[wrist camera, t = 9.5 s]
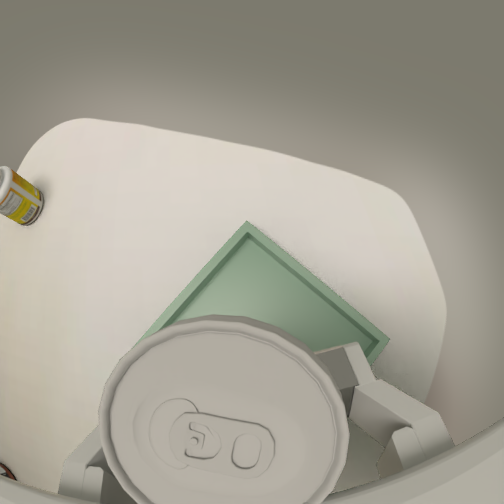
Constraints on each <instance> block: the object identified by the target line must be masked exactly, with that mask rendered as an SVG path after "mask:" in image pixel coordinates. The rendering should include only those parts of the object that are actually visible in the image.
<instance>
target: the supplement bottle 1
mask: <svg viewBox="0 0 504 504" xmlns="http://www.w3.org/2000/svg"><path fill="white" fill-rule="evenodd" d="M0 475H2V476H5V477H7V478H10V479H13V480H15V479H14V477H13V475H12V474H11V473H10V471H9V470H8V469H7V468H6V467H5V466H3V465H2V464H0Z"/></svg>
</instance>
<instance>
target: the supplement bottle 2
mask: <svg viewBox="0 0 504 504" xmlns="http://www.w3.org/2000/svg"><path fill="white" fill-rule="evenodd" d="M42 204H43V197H42V194H41V192H40V191H39V190H38V189H37V188H35V187H34V186H33V185H31V184H30V183H29V182H27V181H26V180H25V179H23V178H22V177H21V176H19V175H18V174H17V173H16V172H14V171H13V170H12V169H10V168H9V167H7V166H1V167H0V213H1V214H3V215H4V216H6V217H8V218H10V219H12V220H13V221H15V222H17V223H19V224H21V225H28V224H30V223H32V222H33V221H34V220H35V219H36V218H37V217H38V215H39V213H40V211H41V208H42Z"/></svg>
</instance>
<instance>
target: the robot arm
mask: <svg viewBox="0 0 504 504" xmlns="http://www.w3.org/2000/svg"><path fill="white" fill-rule="evenodd" d="M313 353H314V354H315V355H316V356H317V357H318V358H319V359H320V360H321V361H322V362H323V363H324V364H325V365H326V366H327V368H328V369H329V371H330V373H331V375H332V377H333V379H334V381H335V383H336V385H337V386H338V388H339V390H340V392H341V394H342V399H343V402H344V405H345V410H346V416H347V417H349V419H351V420H352V421H353V422H354V423H355V424H357V425H358V426H359V427H360V428H361V429H363V430H364V431H365V432H366V433H368V434H369V435H370V436H371V437H373V438H374V439H375V440H376V441H378V442H379V443H380V444H381V445H383V446H384V447H385V450H384V451H383V453H382V455H381V457H380V459H379V460H378V462H377V464H376V466H377V469H378V472H379V475H380V478H381V479H379V480H376V481H373V482H370V483H367V484H364V485H361V486H357V487H354V488H351V489H347V490H344V491H340V492H336V493H332V494H329V495H328V496H327V497H326V498H325V499H324V501H323V502H322V503H321V504H504V417H503V418H502V419H500V420H499V421H497V422H496V423H494V424H493V425H491V426H490V427H489V428H486V429H485V430H483V431H481V432H480V433H478V434H476V435H475V436H473V437H471V438H470V439H468V440H466V441H464V442H462V443H461V444H459V445H457V446H455V445H454V443H453V440H452V438H451V437H450V434H449V432H448V430H447V428H446V426H445V424H444V423H443V420H442V418H441V417H440V415H439V413H438V412H437V411H435V410H433V409H431V408H430V407H428V406H426V405H425V404H423V403H421V402H419V401H418V400H416V399H414V398H412V397H411V396H409V395H407V394H406V393H404V392H402V391H400V390H399V389H397V388H395V387H394V386H392V385H390V384H389V383H387V382H385V381H384V380H382V379H378V380H376V378H375V376H374V374H373V372H372V369H371V367H370V365H369V363H368V361H367V359H366V357H365V355H364V353H363V351H362V349H361V347H360V345H359V343H358V342H357V341H356V342H352V343H349V344H345V345H339V346H336V347H332V348H328V349H324V350H320V351H315V352H313ZM0 504H138V503H137V502H136V501H135V500H134V499H133V498H132V497H131V496H130V495H129V494H128V493H127V492H126V491H125V490H124V489H123V488H122V486H121V485H120V483H119V482H118V480H117V478H116V477H115V475H114V474H113V472H112V470H111V469H110V467H109V466H108V463H107V460H106V457H105V454H104V451H103V448H102V445H101V441H100V436H99V425H98V426H97V427H96V428H95V429H94V430H93V431H92V432H91V433H90V434H89V435H88V436H87V437H86V438H85V440H84V441H83V442H82V443H81V444H80V445H79V446H78V447H77V448H76V449H75V450H74V451H73V452H72V453H71V455H70V456H69V457H68V458H67V459H66V460H65V461H64V466H63V470H62V475H61V480H60V485H59V490H58V494H57V493H53V492H49V491H46V490H42V489H39V488H36V487H33V486H30V485H27V484H24V483H21V482H18V481H15V480H13V479H10V478H7V477H5V476H2V475H0ZM302 504H307V502H304V503H302Z"/></svg>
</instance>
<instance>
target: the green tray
mask: <svg viewBox="0 0 504 504" xmlns="http://www.w3.org/2000/svg"><path fill="white" fill-rule="evenodd" d="M211 314H216V315H232V316H246V317H249V318H252V319H256V320H259V321H262V322H265V323H268V324H271V325H275V326H277V327H279V328H281V329H282V330H284V331H285V332H287V333H289V334H290V335H292V336H294V337H295V338H297V339H298V340H300V341H302V342H303V343H305V344H306V345H307V346H308V347H309V348H310V349H311V350H312V352H315V351H320V350H324V349H328V348H332V347H336V346H339V345H345V344H349V343H352V342H356V341H357V342H358V343H359V345H360V347H361V349H362V351H363V353H364V355H365V357H366V359H367V361H368V363H369V365H370V366H371V365H372V363H373V362H374V361H375V360H376V358H377V357H378V355H379V354H380V353H381V351H382V350H383V349H384V347H385V346H386V345H387V343H388V342H389V340H390V339H389V338H388V337H387V336H386V335H385V334H383V333H382V332H381V331H380V330H379V329H378V328H376V327H375V326H374V325H373V324H372V323H370V322H369V321H368V320H367V319H366V318H365V317H363V316H362V315H361V314H360V313H359V312H357V311H356V310H355V309H354V308H353V307H352V306H350V305H349V304H348V303H347V302H346V301H344V300H343V299H342V298H341V297H340V296H338V295H337V294H336V293H335V292H334V291H332V290H331V289H330V288H329V287H328V286H326V285H325V284H324V283H323V282H322V281H320V280H319V279H318V278H317V277H316V276H314V275H313V274H312V273H311V272H309V271H308V270H307V269H306V268H305V267H303V266H302V265H301V264H300V263H299V262H297V261H296V260H295V259H294V258H292V257H291V256H290V255H289V254H288V253H286V252H285V251H284V250H283V249H281V248H280V247H279V246H278V245H276V244H275V243H274V242H273V241H272V240H270V239H269V238H268V237H267V236H265V235H264V234H263V233H262V232H260V231H259V230H258V229H257V228H255V227H254V226H253V225H252V224H250V223H249V222H248V221H246V222H245V223H244V224H243V225H242V226H241V227H240V228H239V229H238V230H237V231H236V232H235V234H234V235H233V236H232V237H231V238H230V239H229V240H228V241H227V242H226V243H225V244H224V246H223V247H222V248H221V249H220V250H219V251H218V252H217V253H216V254H215V255H214V257H213V258H212V259H211V260H210V261H209V262H208V263H207V264H206V265H205V266H204V268H203V269H202V270H201V271H200V272H199V273H198V274H197V275H196V276H195V278H194V279H193V280H192V281H191V282H190V283H189V284H188V285H187V286H186V288H185V289H184V290H183V291H182V292H181V293H180V294H179V295H178V297H177V298H176V299H175V300H174V301H173V302H172V303H171V304H170V306H169V307H168V308H167V309H166V310H165V311H164V312H163V313H162V315H161V316H160V317H159V318H158V319H157V320H156V321H155V323H154V324H153V325H152V326H151V327H150V328H149V329H148V331H147V332H146V333H145V334H144V335H143V336H142V337H141V339H140V340H139V341H138V342H137V343H136V344H135V346H136V345H137V344H138V343H139V342H140V341H141V340H142V339H144V338H146V337H148V336H150V335H151V334H153V333H155V332H157V331H159V330H161V329H163V328H165V327H167V326H169V325H171V324H173V323H175V322H178V321H180V320H184V319H190V318H195V317H201V316H206V315H211Z"/></svg>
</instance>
